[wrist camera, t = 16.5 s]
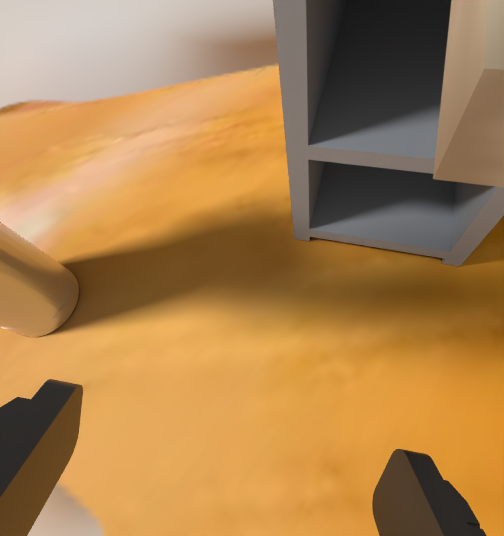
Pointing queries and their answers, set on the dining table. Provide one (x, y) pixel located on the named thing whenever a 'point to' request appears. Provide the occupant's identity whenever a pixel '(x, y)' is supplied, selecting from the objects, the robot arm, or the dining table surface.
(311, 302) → the dining table surface
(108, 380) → the dining table surface
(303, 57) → the tall grey box
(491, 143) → the tan and grey block
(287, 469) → the dining table surface
